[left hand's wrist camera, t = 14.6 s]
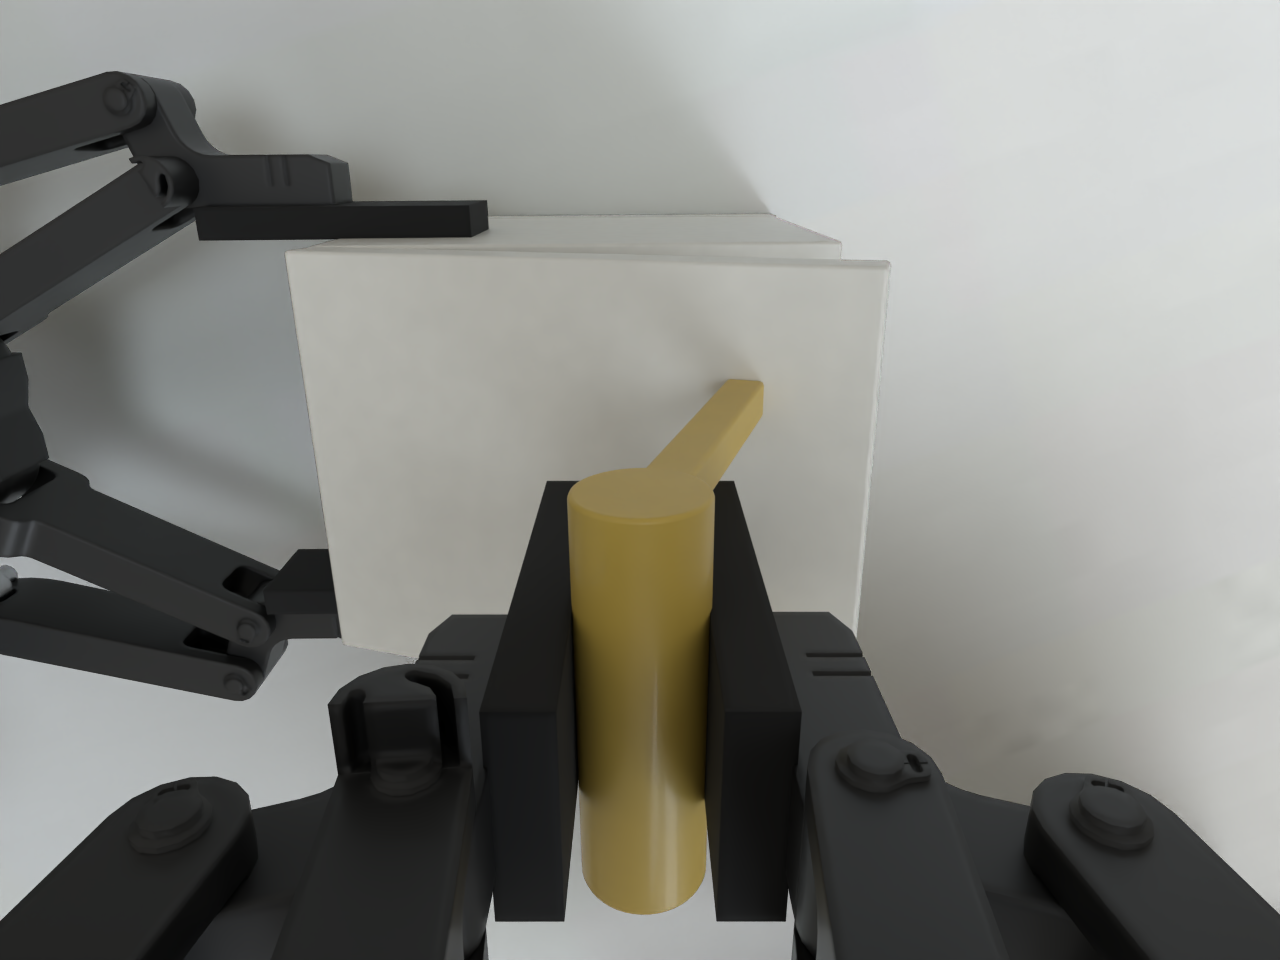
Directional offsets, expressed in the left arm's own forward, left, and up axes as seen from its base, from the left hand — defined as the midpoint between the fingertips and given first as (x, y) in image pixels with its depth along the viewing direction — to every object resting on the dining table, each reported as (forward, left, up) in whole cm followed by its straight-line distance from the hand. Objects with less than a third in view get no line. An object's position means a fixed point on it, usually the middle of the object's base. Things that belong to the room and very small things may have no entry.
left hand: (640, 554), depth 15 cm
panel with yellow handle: (+1, 0, -4) cm, 4 cm away
